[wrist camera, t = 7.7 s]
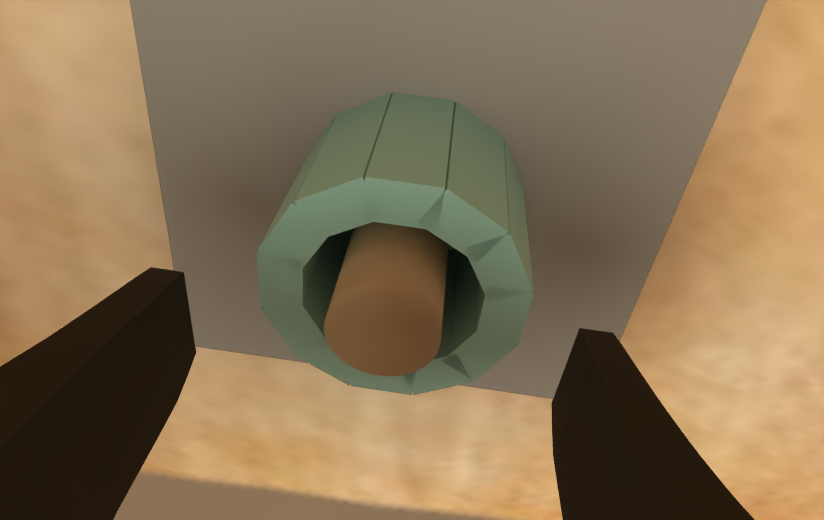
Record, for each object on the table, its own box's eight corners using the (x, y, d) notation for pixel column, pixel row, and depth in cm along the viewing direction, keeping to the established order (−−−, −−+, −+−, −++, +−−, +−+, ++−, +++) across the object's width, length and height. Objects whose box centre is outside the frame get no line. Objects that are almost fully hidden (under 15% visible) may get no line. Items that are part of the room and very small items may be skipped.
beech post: (363, 228, 16) (323, 367, 12) (368, 154, 15) (325, 281, 11) (446, 241, 16) (433, 383, 12) (458, 167, 15) (449, 299, 11)
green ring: (305, 267, 17) (263, 373, 14) (306, 79, 14) (250, 160, 11) (497, 295, 17) (499, 408, 14) (542, 113, 14) (559, 204, 10)
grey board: (198, 324, 20) (186, 345, 19) (131, -143, 12) (106, -141, 12) (587, 380, 20) (592, 404, 19) (768, -58, 12) (788, -50, 11)
